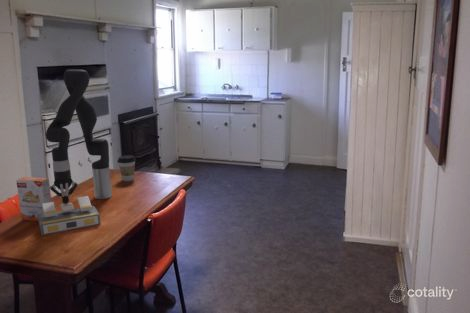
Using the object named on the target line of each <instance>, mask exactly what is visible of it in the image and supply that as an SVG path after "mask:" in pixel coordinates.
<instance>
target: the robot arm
mask: <svg viewBox="0 0 470 313" xmlns="http://www.w3.org/2000/svg"><path fill="white" fill-rule="evenodd" d="M63 73H64V74H63V82H64V84H65V87H66V88H65V89H66V90H67V91H68V94H69V95H68V96H67V98H66V99H64V101H62V103H61V104H60V105H59V107H58V109H57V113H56V116H55V118H54V119H53V120H52V122H51V123H50V125H48V128H47V129H46V131H45V138H46V140H47V141H48V142H49V143H58V146H55V147H54V148H52V149H51V157H52V171H53V178H54V181H53V184H52V185H49V187H50V191H52V192H53V193H54V194H56V196H58V197H61V200H62V201H61V202H62V204H67V203H70V202H69V201H70V200H69V196H70V195H72V194H73V193H74V191H75V190H76V188H77V186H79V185H78V182H75V181H74V180H73V178H72V172H71V165H70V164H71V163H70V159H69V153H68V151H69V145H70V138H71V134H70V131H69V129H67V128H66V127H67V126H69V125H70V124H71V122H72V119H73V117H74V113H76V116H77V119H78V123H79V125H80V128H81V130H82V134H83V138H84V139H83V140H84V143H85V147H86V151H87V154H89V156H99V157H100V159H98V160H95V161H93V162H92V163H91V170H92V180H93V190H94V198H95V199H96V200H97V199H98V200H105V199H106V200H107V199H110V198H111V197H112V196H113V194H112V181H111V173H110V172H111V171H110V150H109V148H110V147H109V141H108V140H107V139H106V138H94V135H93V130H94V128H95V126H96V124H97V120H98V118H97V117H98V116H97V114H96V110H95V107H94V106H93V104H92V103H91V102H90V101H89V100H88V99H87V98H86V97H85V96H84V93H85V92H86V90H87V89H88V87H89V84H90V75H89V73H88V71H87V70H86V69H85V70H84V69H73V68H72V69H71V68H70V69H66V70H65V71H64V72H63ZM70 187H71V188H70ZM56 188H57V189H58V190H59V191H60V192H59V191H58V190H57V189H56Z"/></svg>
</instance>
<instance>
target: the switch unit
mask: <svg viewBox="0 0 470 313" xmlns="http://www.w3.org/2000/svg"><path fill="white" fill-rule="evenodd" d="M91 206H92V210H89V211H83V212H81V210H80V207H79V208H74V209H71V210H65V211H63V210H61V211H56V215H57V216H51V217H46V218H45V216H44V214H43V215H38V220H39V221H38V226H39V230H40V233H41V234H40V235H41V236H46V235H50V234H55V233H61V232H66V231H72V230H78V229H83V228H87V227H93V226H99V225H101V214H100V212H99V211H98V210H97V207H95V206H94V205H91Z"/></svg>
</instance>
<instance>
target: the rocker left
mask: <svg viewBox="0 0 470 313" xmlns="http://www.w3.org/2000/svg"><path fill="white" fill-rule="evenodd" d="M42 206H43V211H44V216H45V218H46V217H51V216H57V215H56V212H57V211H56V210H57V209H56V206H55V202H54V201H51V202H49V203H43V204H42Z"/></svg>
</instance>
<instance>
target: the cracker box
mask: <svg viewBox="0 0 470 313" xmlns="http://www.w3.org/2000/svg"><path fill="white" fill-rule="evenodd" d="M16 186H17V187H16V188H17V194H18V202H19V210H20V216H21V220H22V221H33V222H39V220H38V215H43V214H44V211H43V206H42V204H43V203H49V202H52V196H51V195H52V194H51V189H50V180H49V178H48V177H31V176H28V177H27V176H23V177H21V178H18V179H16Z"/></svg>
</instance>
